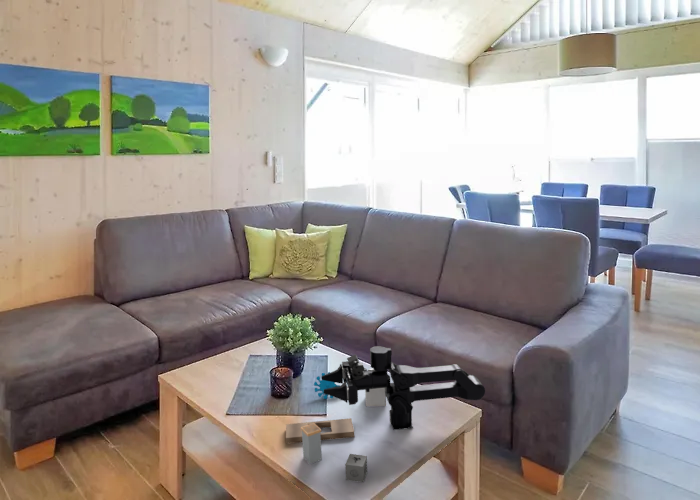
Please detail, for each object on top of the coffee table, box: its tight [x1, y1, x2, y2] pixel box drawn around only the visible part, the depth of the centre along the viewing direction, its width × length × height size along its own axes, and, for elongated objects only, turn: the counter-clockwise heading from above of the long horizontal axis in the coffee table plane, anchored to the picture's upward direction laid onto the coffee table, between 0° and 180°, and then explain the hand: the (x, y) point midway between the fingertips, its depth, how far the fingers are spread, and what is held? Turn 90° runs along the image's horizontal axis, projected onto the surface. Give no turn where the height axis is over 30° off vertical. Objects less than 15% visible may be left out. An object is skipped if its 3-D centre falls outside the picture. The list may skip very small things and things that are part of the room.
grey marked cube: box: [344, 453, 368, 483], centre depth 148 cm, size 5×5×5 cm
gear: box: [313, 371, 341, 400], centre depth 195 cm, size 11×6×10 cm
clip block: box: [301, 423, 322, 465], centre depth 156 cm, size 4×4×10 cm
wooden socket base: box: [285, 417, 355, 444], centre depth 169 cm, size 22×8×2 cm, turn 96°
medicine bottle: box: [364, 368, 387, 408], centre depth 187 cm, size 7×7×12 cm
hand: (322, 384), depth 167 cm, fingers open, 9 cm apart
